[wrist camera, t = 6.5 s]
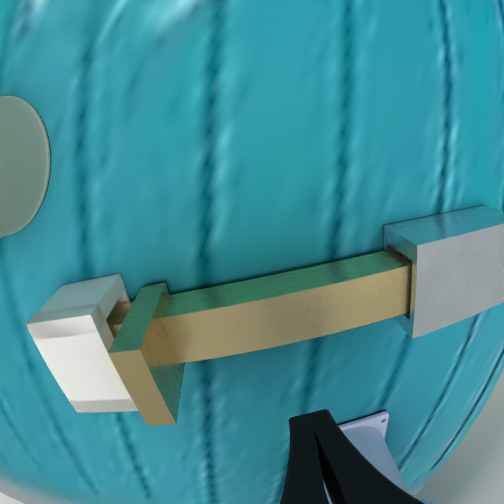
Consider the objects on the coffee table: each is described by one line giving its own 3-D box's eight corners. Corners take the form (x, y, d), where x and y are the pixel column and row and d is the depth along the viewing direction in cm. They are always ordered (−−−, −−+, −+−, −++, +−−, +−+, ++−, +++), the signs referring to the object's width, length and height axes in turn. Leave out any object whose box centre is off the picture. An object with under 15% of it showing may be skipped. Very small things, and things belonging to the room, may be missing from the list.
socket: (153, 358, 20) (138, 410, 15) (98, 364, 20) (76, 412, 15) (120, 273, 18) (90, 314, 13) (62, 285, 18) (25, 324, 13)
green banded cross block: (392, 302, 19) (443, 358, 13) (99, 358, 19) (68, 425, 13) (391, 236, 18) (455, 278, 12) (72, 300, 18) (24, 359, 11)
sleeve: (478, 276, 20) (510, 298, 16) (384, 307, 20) (412, 338, 16) (483, 204, 18) (520, 218, 14) (383, 225, 18) (417, 245, 14)
